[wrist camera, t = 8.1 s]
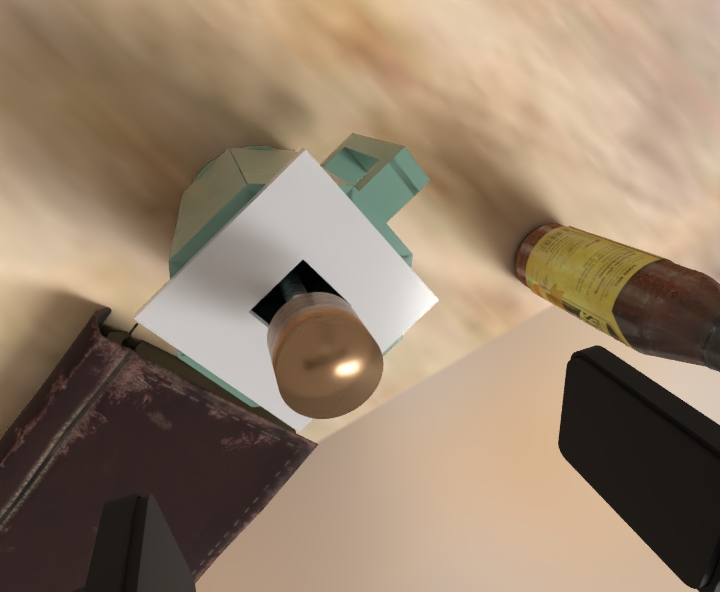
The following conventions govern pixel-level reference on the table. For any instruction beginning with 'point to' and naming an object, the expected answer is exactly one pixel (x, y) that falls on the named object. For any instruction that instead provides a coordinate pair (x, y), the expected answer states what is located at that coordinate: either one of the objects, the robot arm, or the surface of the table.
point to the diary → (132, 459)
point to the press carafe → (285, 256)
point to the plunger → (320, 350)
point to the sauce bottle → (625, 293)
